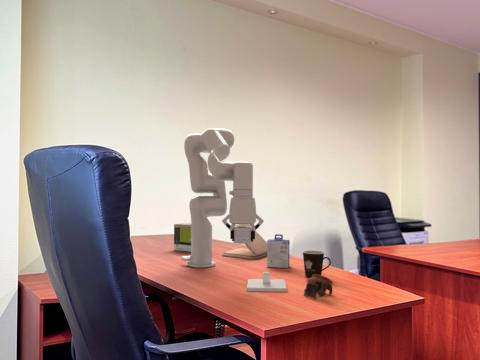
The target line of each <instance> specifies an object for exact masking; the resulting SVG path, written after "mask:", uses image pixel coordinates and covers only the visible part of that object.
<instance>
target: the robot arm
mask: <svg viewBox="0 0 480 360" xmlns="http://www.w3.org/2000/svg"><path fill="white" fill-rule="evenodd" d="M234 143H235V135H234V133H233V131H231V130H230V129H226V128H215V127H212V128H210V127H209V128H207V129H205V130H203V132H202V133H192V134H188V135H187V136H186V138H185V140H184V149H183V150H184V154H185V157H186V160H187V163H188V168H189V169H188V170H189V180H190V182H189V183H190V189H191V191H192V192H193V193H195V194H211V195H197V196H194V197H192V198H191V199H190V201H189V205H188V206H189V214H190V223H191V252H190V253H191V254H190V255H182V256H181V261H187V266H188V267H190V268H191V267H192V268H197V269H198V268H199V269H201V268H202V269H203V268H212V267H215V266H216V262H215V261H213V225H212V223H211V221H210V220H209V219H208V218H210V217H222V216H225V215H226V214H227V211H228V201H227V192H226V184H225V183H226V182H227V181H228V182H232V190H230V191H229V192H228V193H229V195H230V196H232V197H230V201H229V202H230V203H229V213H228V215H226V216H225V217H224V218H223V219H222V220H221V222H222V224H224V225H225V226H226V228H227V229H228V230H229V231H230V237H229V238H230V240H231V242H234V229H233V228H234V226H235V225H239V224H249V225H250V226H251V228H252V231H251V241H252V242H253V239H255V231H257V229H259V228H260V227H261V225H262V224H263V223H264V219H263V218H262V217H260V216H259V215H258V214H257V205H256V198H255V197H253V196H254V194H253V193H254V166H253V165H254V164H253V163H252V162H250V161H224V160H226V159H227V158H228V157H229V155H230V154H231V148H232V147H233V146H234ZM202 153H203V154H204V153H205V154H209V155H208V157H207V161H206V159H205V157H204V156H203V155H202ZM257 221H258V223H256V222H257ZM228 222H229V223H228ZM255 223H256V224H255Z"/></svg>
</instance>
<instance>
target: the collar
mask: <svg viewBox="0 0 480 360" xmlns="http://www.w3.org/2000/svg"><path fill="white" fill-rule="evenodd" d="M249 243H251V227H250V226H234V241H233V244H238V245H245V244H249Z"/></svg>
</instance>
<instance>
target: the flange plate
mask: <svg viewBox="0 0 480 360" xmlns="http://www.w3.org/2000/svg"><path fill="white" fill-rule="evenodd" d="M246 284H247V285H246V292H273V293H274V292H281V293H283V292H284V293H286V292H288V291H287V289H288V288H287V285H286V280H285V279H281V278H280V279H279V278H278V279H274V278H273V279H272V278H271V272H270V271H263V272H262V278H247V283H246Z"/></svg>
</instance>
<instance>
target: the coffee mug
mask: <svg viewBox="0 0 480 360" xmlns="http://www.w3.org/2000/svg"><path fill="white" fill-rule="evenodd" d="M302 258H303V267H304V276H305V278H307V279H309V278H311V277H312V275H313V274H318V275H323V274H322V272H323V271H325V270H326V269H328V268H330V266H331V264H332V260H331V258H329V256H325V252H324V251H322V250H303V251H302ZM325 259H327V260H328V261H329V264H328V265H327V266H325V267H324V268H323V264H324V260H325Z"/></svg>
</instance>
